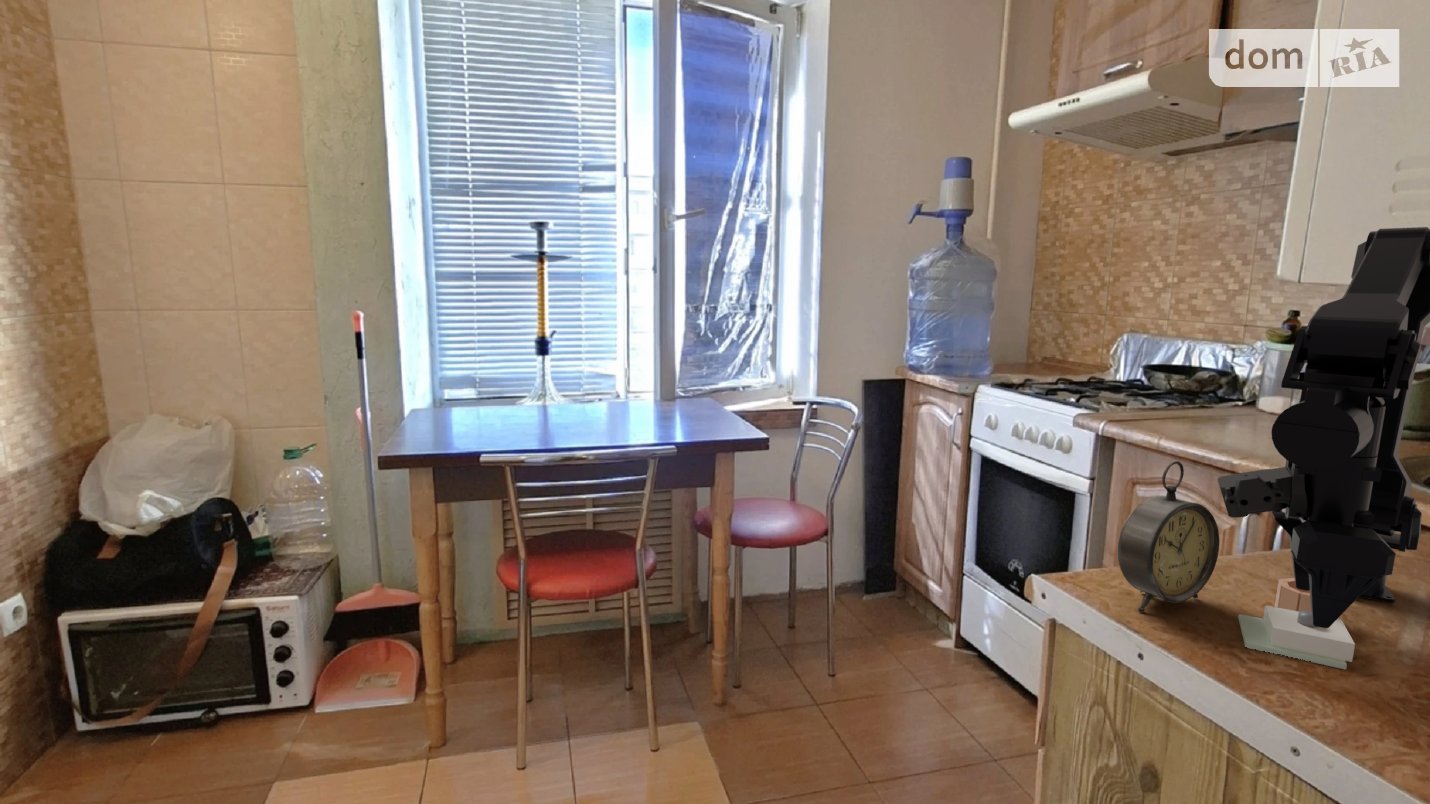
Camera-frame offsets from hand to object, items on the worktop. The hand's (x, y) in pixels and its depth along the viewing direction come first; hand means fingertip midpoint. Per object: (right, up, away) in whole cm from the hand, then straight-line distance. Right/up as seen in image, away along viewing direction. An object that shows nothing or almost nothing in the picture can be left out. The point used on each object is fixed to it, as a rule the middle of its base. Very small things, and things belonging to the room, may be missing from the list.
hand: (1310, 606), depth 68 cm
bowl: (+5, -3, +6) cm, 8 cm away
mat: (-1, -4, +2) cm, 4 cm away
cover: (0, -4, +1) cm, 4 cm away
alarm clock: (-8, -3, +10) cm, 14 cm away
